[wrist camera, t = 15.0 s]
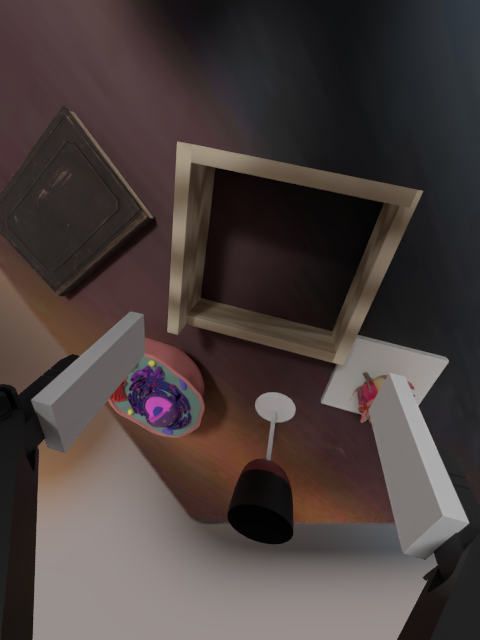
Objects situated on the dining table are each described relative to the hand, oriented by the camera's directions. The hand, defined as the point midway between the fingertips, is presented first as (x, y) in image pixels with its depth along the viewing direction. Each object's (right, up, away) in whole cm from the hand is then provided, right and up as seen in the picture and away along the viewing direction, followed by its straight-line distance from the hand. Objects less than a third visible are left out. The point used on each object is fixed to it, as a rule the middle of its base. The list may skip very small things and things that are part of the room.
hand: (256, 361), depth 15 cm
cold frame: (+5, +11, +24) cm, 27 cm away
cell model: (-14, -6, +38) cm, 41 cm away
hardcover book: (-26, +18, +28) cm, 43 cm away
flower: (+21, -8, +29) cm, 37 cm away
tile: (+21, -7, +30) cm, 38 cm away
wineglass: (+6, -14, +38) cm, 41 cm away
